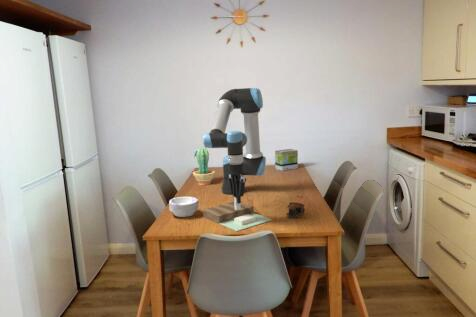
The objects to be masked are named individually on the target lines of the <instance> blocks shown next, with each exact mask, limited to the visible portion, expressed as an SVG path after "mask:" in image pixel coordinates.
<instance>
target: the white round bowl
mask: <svg viewBox="0 0 476 317" xmlns="http://www.w3.org/2000/svg"><path fill="white" fill-rule="evenodd" d="M168 203H169V204H168V205H169V206H168V207H169V211H170V212H171V213H173V214H174V215H175V216H176V217H178V218H188V217H190V216H191V217H192V216H193V215H194V214H195V212H197V211H198V210H199V199H198V198H197V197H193V196H178V197H174V198H171V199H169V202H168Z"/></svg>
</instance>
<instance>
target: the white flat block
mask: <svg viewBox="0 0 476 317" xmlns="http://www.w3.org/2000/svg"><path fill="white" fill-rule="evenodd" d="M254 221H256V217H255V216H252V215H250V214H247V215H243V216H240V217H236V218H234V222H235V223H238V224H240V225H244V224H247V223H251V222H254Z"/></svg>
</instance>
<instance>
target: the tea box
mask: <svg viewBox="0 0 476 317" xmlns="http://www.w3.org/2000/svg"><path fill="white" fill-rule="evenodd" d="M274 154H275V155H274V168H275V169H276V170H277V171H281V172H284V171H288V170H297V169H298V167H299V166H298V165H299V164H298V162H299V161H298V160H299V158H298V156H299V155H298V154H299V153H298V149H292V148H287V149H279V150H275V151H274ZM296 168H297V169H296Z"/></svg>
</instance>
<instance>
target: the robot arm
mask: <svg viewBox="0 0 476 317" xmlns="http://www.w3.org/2000/svg"><path fill="white" fill-rule="evenodd" d="M263 100H264V99H263V96H262V91H261V90H260V88H255V87H247V88H233V89H229V90H227V91H226V92H225V93H223V94H222V96H220V98H219V100H218V101H217V105H216V106H217V110H216V113H215V117H214V119H213V122H212V125H211V128H210V131H209V132H207V133H205V134H204V135H203V138H202V142H203V143H202V144H203V146H204V147H205V148H206V149H227V155H226V156H224V157H223V159H222V173H223V182H222V185H221V188H220V189H221V190H220V191H221V193H223V194H225V195H232V197H233V202H234V207H235V210H239V209H241V204H240V203H241V198H242V197H244V195H245V192H246V181H247V178H246V177H244V176H255V177H256V176H263V175H264V173H265V170H266V162H267V159H266V156H264V154H263V152H262V151H261V144H260V143H261V142H260V126H259V113H260V112H261V110H262V109H263V107H264V101H263ZM235 109H237V110H238V109H239V110H240V114H242V115H243V124H244V127H243V128H244V132H242V131H241V130H230V131H228V132H226V129H227V126H228V122H229V120H230V116H231V113H232V112H233V110H235ZM243 147H245V153H244V148H243Z"/></svg>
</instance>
